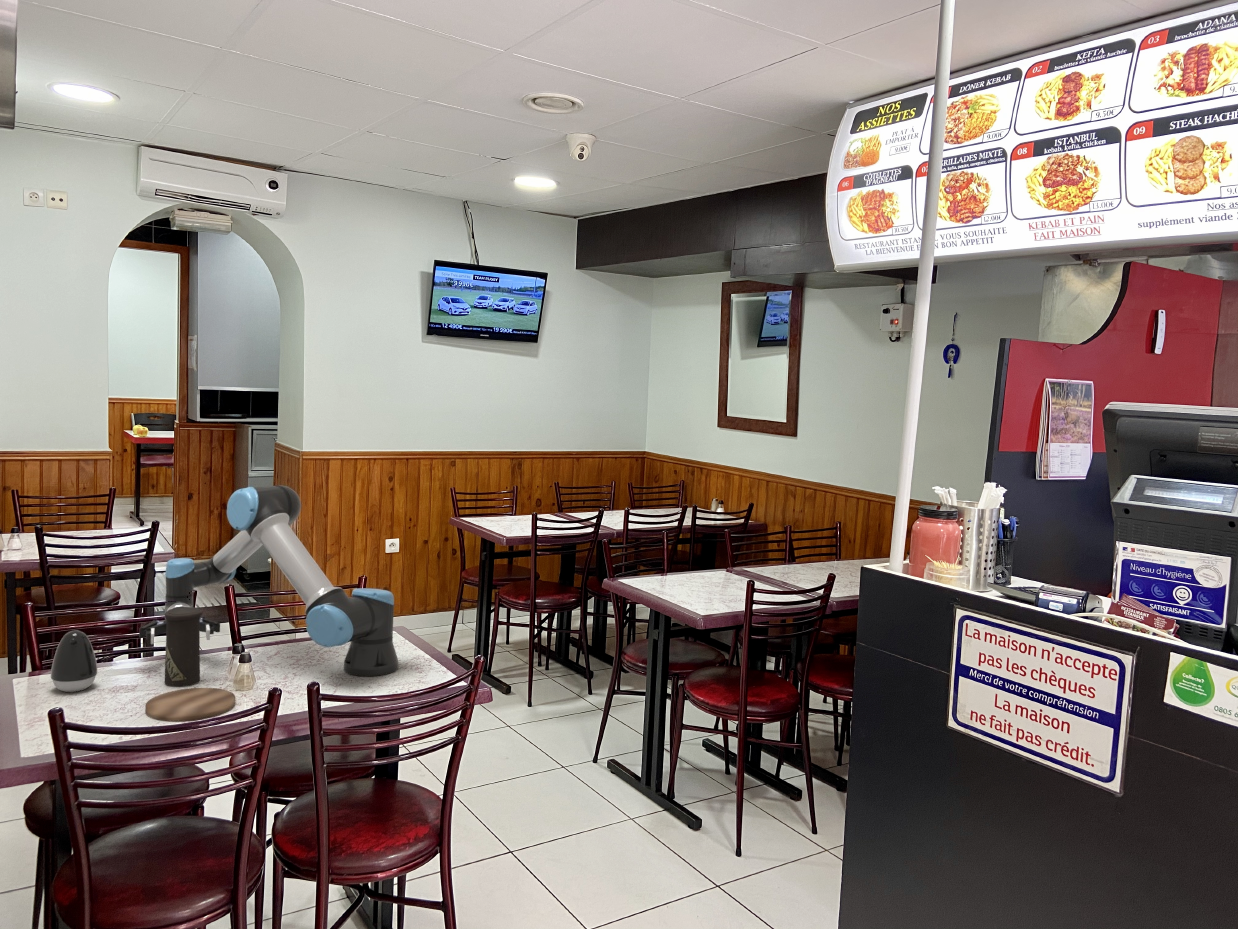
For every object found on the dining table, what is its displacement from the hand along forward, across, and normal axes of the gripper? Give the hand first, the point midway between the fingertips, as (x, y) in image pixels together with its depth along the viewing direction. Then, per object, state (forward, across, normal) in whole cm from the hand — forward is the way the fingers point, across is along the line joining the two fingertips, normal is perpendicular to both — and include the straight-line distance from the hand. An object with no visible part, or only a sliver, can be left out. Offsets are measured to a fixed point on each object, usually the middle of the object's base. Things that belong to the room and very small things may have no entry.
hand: (180, 637), depth 240 cm
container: (+6, 0, -11) cm, 12 cm away
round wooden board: (+26, -2, -11) cm, 28 cm away
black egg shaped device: (+3, +24, -11) cm, 27 cm away
